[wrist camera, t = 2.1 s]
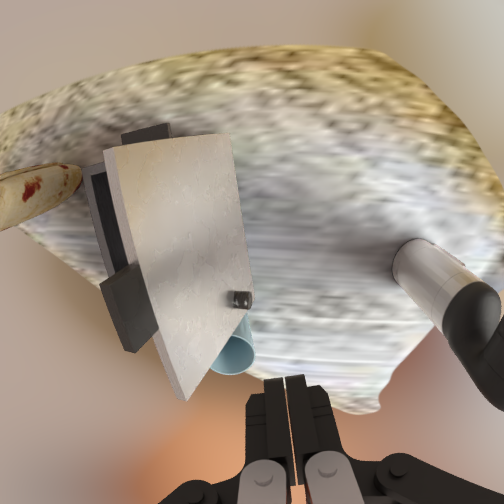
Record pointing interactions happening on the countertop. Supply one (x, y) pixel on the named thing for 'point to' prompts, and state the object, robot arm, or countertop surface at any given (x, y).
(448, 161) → the countertop surface
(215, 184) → the lid
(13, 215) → the food model
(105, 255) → the cooker pot
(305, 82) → the countertop surface
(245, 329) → the cup
